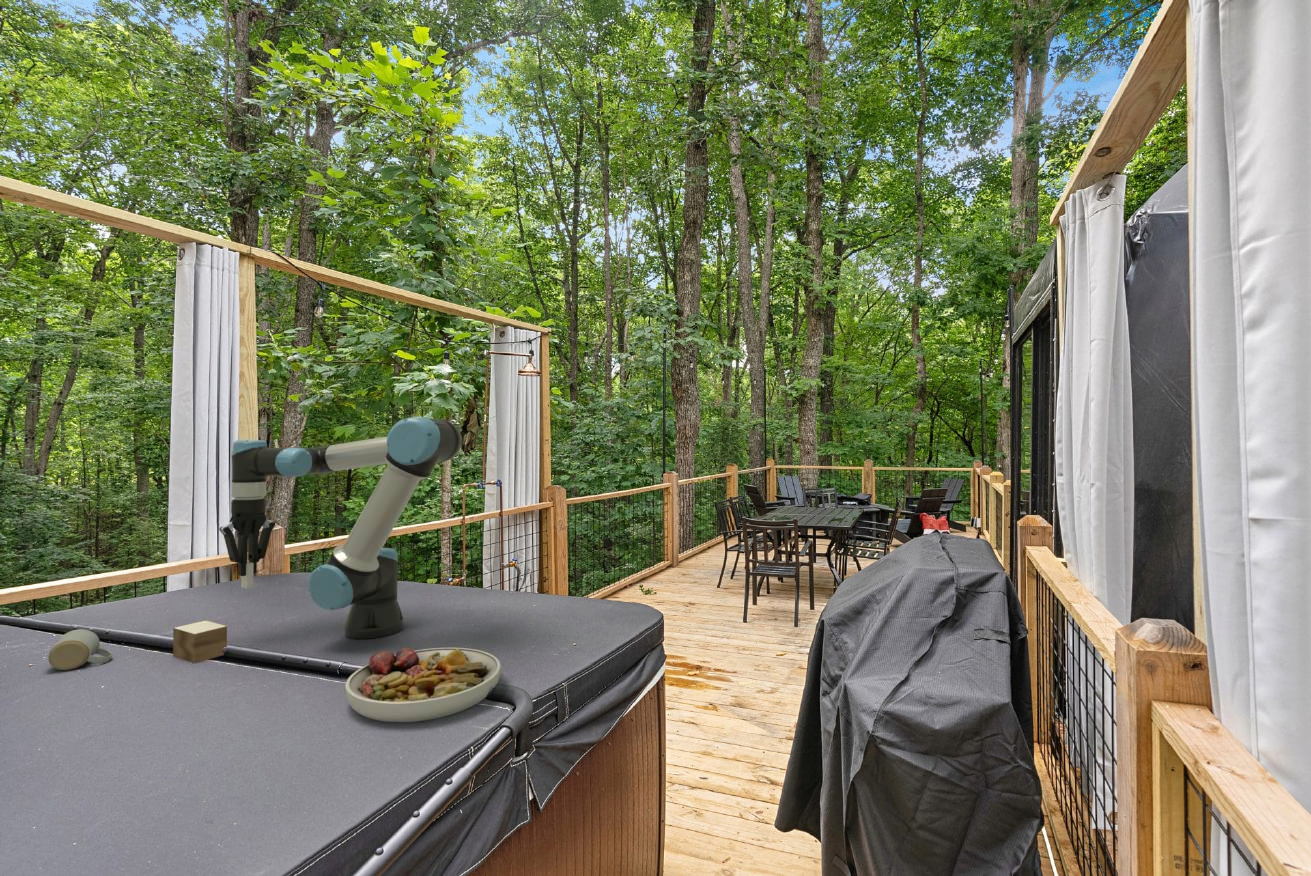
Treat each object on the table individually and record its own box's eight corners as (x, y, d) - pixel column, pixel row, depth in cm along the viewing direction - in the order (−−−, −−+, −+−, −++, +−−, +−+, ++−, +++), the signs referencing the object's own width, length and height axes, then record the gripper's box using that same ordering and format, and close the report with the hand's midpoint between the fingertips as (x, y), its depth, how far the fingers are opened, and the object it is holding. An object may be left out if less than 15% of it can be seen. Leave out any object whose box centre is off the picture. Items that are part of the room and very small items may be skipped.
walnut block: (226, 654, 148) (227, 626, 148) (194, 663, 141) (194, 634, 141) (205, 648, 152) (205, 620, 152) (173, 656, 146) (173, 627, 146)
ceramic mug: (45, 675, 134) (46, 640, 134) (56, 663, 141) (57, 631, 141) (108, 666, 140) (109, 633, 140) (115, 655, 147) (116, 624, 147)
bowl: (527, 678, 133) (527, 643, 133) (437, 741, 105) (437, 696, 105) (418, 662, 143) (418, 629, 143) (309, 715, 115) (309, 675, 115)
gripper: (266, 495, 164) (264, 580, 164) (213, 499, 153) (211, 590, 153) (282, 497, 161) (280, 584, 161) (229, 500, 149) (227, 594, 149)
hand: (247, 587), depth 157 cm, fingers closed
